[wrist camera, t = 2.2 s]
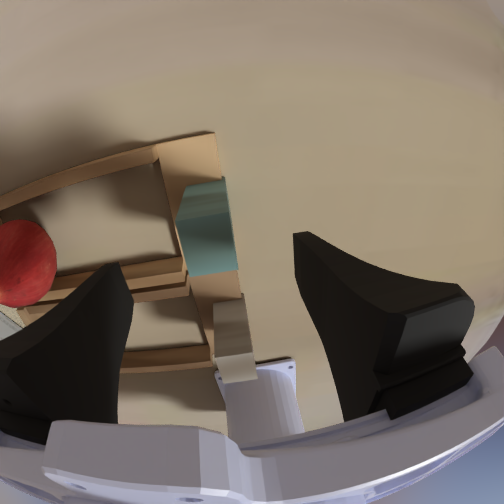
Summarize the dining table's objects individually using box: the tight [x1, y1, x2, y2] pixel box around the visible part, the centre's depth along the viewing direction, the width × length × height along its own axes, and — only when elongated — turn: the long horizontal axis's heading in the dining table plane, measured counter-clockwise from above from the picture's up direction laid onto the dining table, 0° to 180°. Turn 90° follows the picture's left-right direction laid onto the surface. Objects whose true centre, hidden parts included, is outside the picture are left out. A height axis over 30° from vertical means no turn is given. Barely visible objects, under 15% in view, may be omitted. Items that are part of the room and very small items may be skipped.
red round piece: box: [0, 219, 57, 308], centre depth 14 cm, size 6×6×8 cm
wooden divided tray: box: [0, 133, 238, 301], centre depth 15 cm, size 9×20×6 cm, turn 97°
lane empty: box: [16, 270, 258, 384], centre depth 20 cm, size 9×20×6 cm, turn 97°
